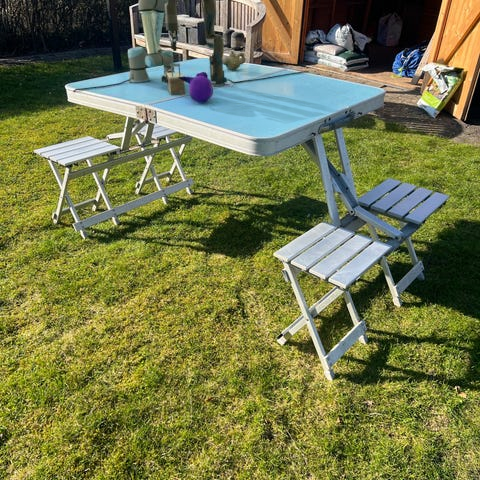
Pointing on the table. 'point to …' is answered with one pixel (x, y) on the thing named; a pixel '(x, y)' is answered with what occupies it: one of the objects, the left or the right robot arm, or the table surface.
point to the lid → (175, 74)
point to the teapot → (233, 61)
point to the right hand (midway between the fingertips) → (173, 50)
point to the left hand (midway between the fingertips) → (174, 81)
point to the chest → (176, 86)
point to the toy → (199, 87)
